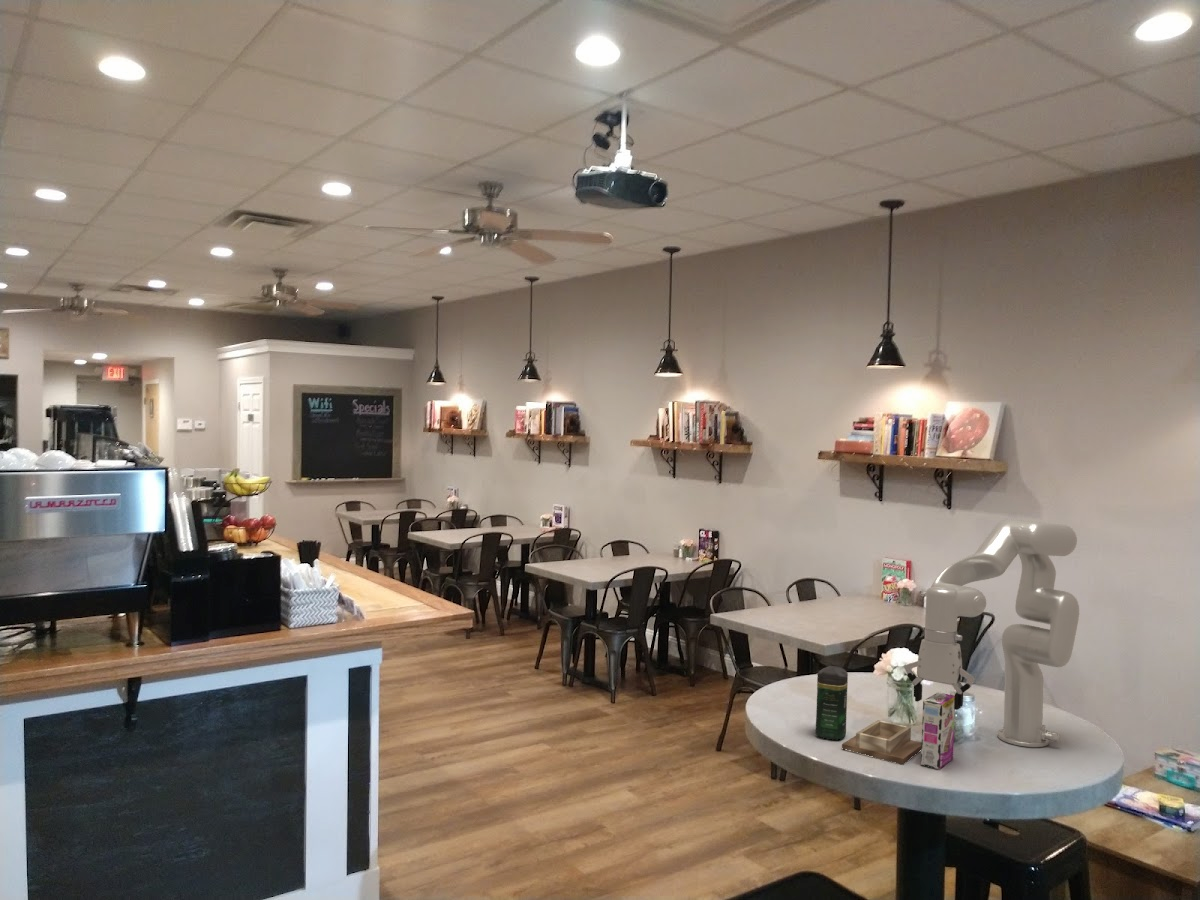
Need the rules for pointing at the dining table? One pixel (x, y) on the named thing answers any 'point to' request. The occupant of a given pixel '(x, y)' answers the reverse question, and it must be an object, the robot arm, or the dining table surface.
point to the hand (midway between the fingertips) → (937, 704)
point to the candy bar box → (938, 730)
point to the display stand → (884, 742)
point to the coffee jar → (831, 702)
